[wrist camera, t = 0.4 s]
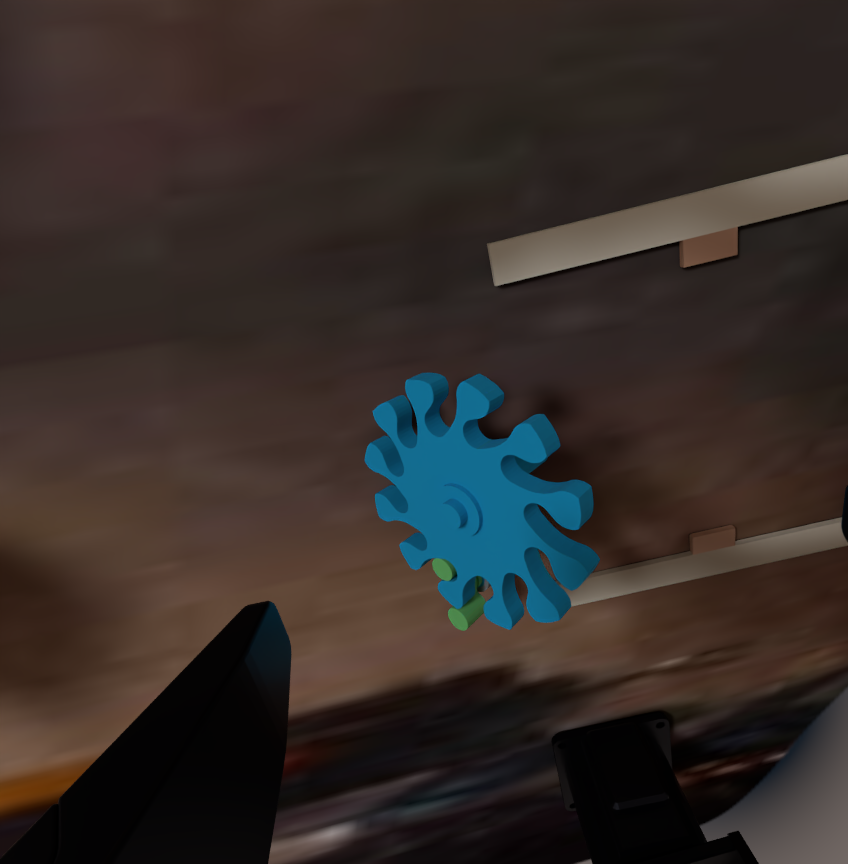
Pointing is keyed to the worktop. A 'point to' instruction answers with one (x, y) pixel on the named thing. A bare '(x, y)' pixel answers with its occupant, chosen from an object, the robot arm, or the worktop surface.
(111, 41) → the worktop surface
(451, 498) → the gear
